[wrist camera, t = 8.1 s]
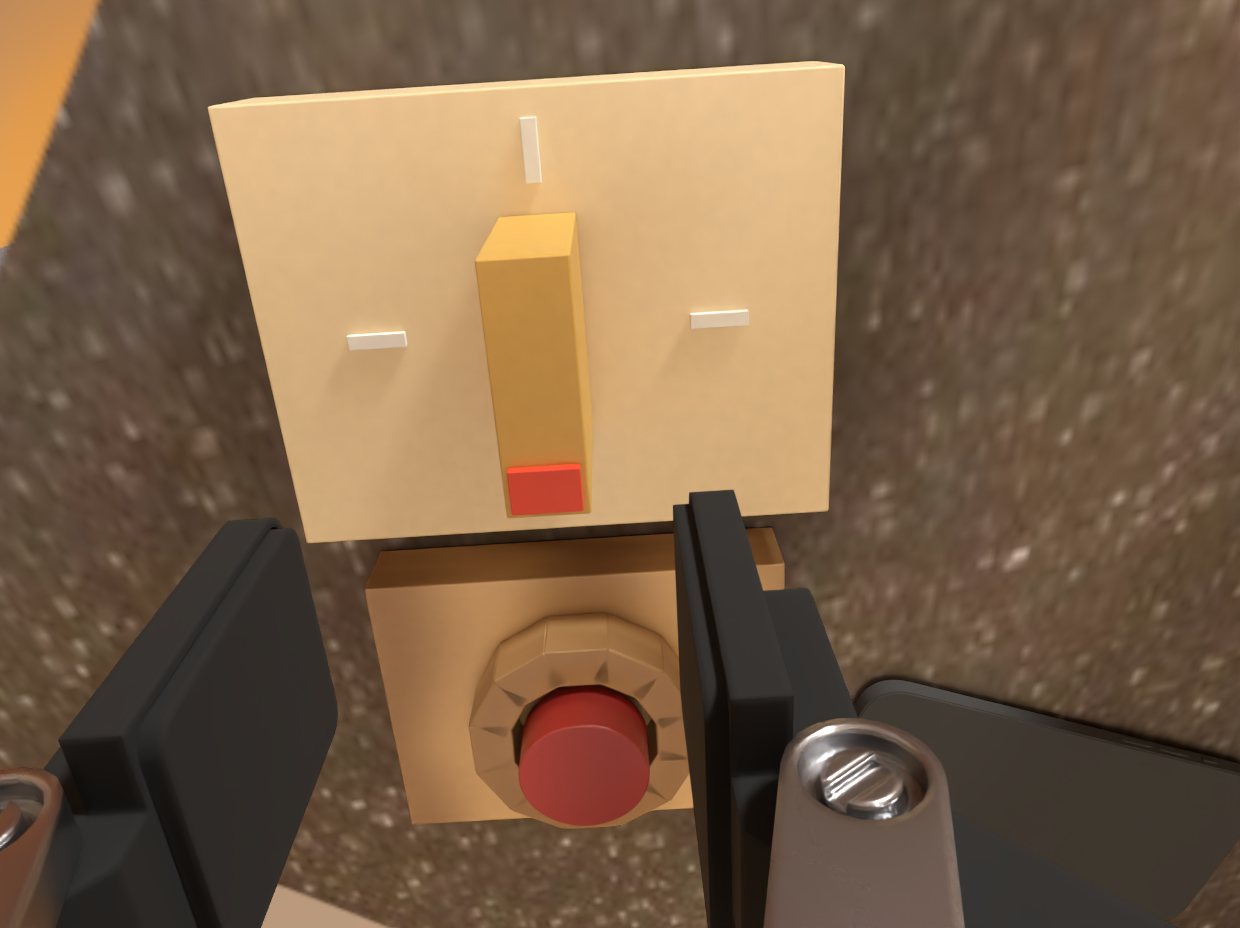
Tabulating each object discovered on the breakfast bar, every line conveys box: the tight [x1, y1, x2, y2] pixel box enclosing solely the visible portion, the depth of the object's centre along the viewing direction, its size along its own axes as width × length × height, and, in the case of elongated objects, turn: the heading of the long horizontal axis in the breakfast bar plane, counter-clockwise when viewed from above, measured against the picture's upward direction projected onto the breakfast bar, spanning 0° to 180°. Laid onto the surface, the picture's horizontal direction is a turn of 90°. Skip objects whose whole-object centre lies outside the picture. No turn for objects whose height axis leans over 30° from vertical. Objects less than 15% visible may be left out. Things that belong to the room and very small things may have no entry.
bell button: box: [518, 685, 650, 826], centre depth 26 cm, size 4×4×2 cm
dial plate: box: [208, 61, 845, 543], centre depth 24 cm, size 14×11×3 cm
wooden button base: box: [364, 527, 785, 829], centre depth 29 cm, size 12×9×4 cm
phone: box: [854, 680, 1240, 921], centre depth 33 cm, size 7×1×15 cm
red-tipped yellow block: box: [475, 212, 593, 518], centre depth 21 cm, size 6×2×5 cm, turn 4°
